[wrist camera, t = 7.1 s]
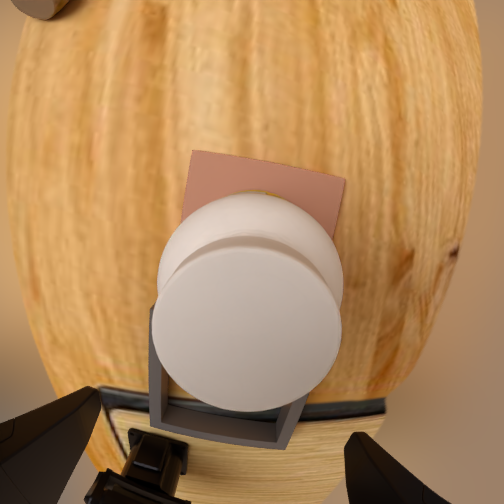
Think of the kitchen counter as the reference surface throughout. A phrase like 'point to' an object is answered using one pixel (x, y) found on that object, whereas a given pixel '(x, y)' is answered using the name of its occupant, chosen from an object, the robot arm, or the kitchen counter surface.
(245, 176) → the mat
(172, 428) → the frame
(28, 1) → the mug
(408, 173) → the kitchen counter surface
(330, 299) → the supplement bottle
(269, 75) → the kitchen counter surface
